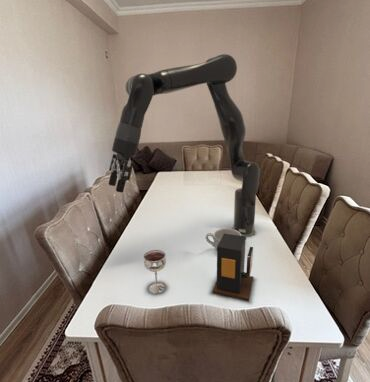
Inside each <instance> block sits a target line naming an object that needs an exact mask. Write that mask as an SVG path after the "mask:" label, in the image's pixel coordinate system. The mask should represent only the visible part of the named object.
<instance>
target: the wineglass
mask: <svg viewBox="0 0 370 382" xmlns="http://www.w3.org/2000/svg"><path fill="white" fill-rule="evenodd" d="M143 259H144V260H143V264H144V268H145V269H146V270H147V271H149V272H152V273H154V279H155V283H153V284H151V285H150V286H149V288H148V290H149V292H150V293H151V294H160V293H163V292H164V290H165V288H166V287H165V285H164V284H163V283H159V282H158V272H161V271H162V270H163V269H164V268H165V267H166V263H167V259H166V252H165V251H163V250H161V249H152V250H148V251H147V252H145V253H144V255H143Z"/></svg>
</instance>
